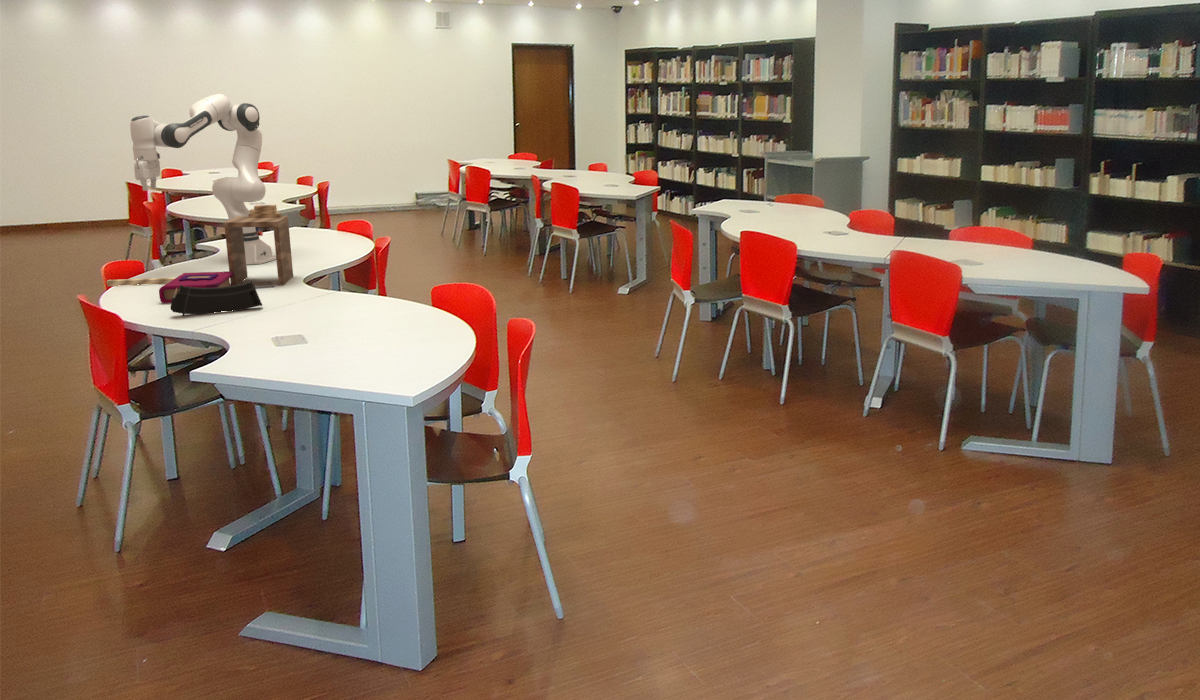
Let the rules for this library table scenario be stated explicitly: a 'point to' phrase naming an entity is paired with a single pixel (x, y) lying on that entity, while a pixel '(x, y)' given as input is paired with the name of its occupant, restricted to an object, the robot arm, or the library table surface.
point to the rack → (236, 249)
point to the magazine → (214, 299)
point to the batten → (139, 281)
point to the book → (195, 283)
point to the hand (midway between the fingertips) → (149, 189)
